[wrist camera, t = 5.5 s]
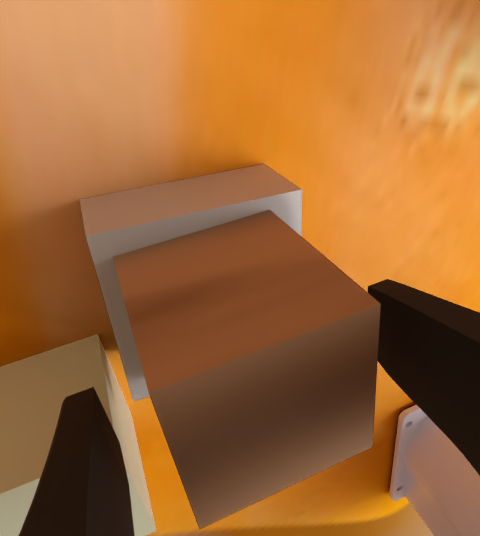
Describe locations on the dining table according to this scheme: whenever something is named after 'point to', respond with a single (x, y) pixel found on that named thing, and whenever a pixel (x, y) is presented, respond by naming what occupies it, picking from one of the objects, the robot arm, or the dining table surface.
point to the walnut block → (251, 358)
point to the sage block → (45, 421)
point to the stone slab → (174, 230)
